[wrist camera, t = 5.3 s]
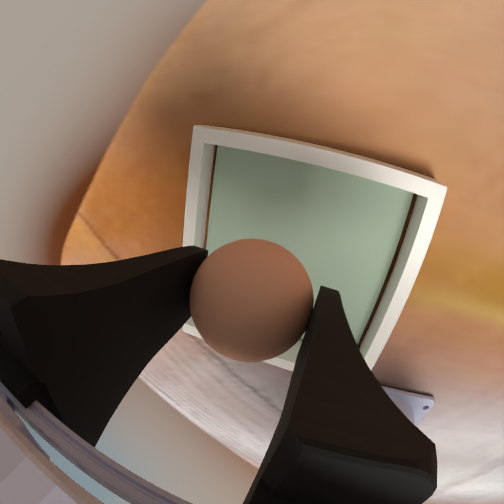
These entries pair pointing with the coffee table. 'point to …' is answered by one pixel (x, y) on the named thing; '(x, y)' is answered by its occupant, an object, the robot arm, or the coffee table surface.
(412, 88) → the coffee table surface
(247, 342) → the ball
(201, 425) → the coffee table surface
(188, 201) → the tray
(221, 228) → the mat
